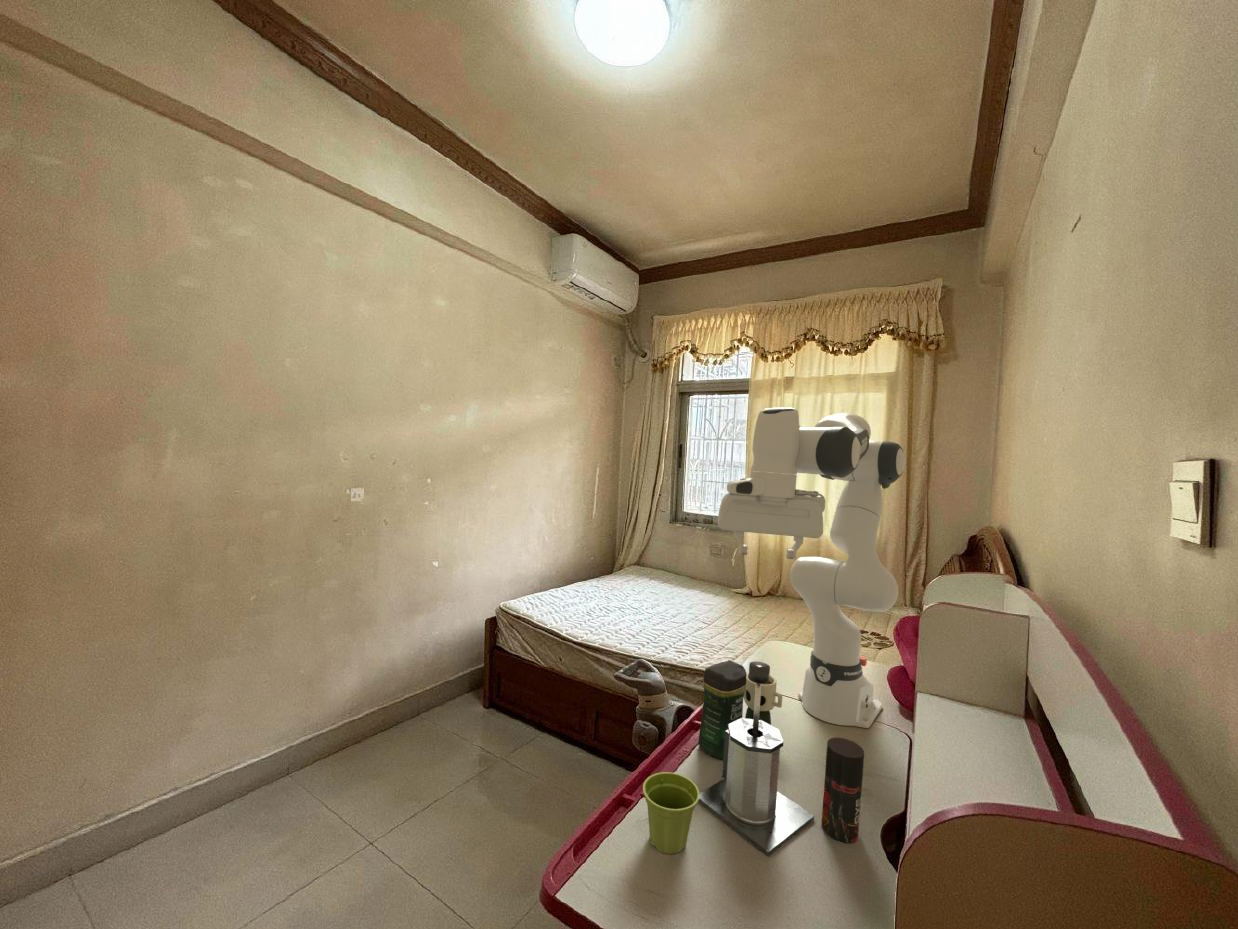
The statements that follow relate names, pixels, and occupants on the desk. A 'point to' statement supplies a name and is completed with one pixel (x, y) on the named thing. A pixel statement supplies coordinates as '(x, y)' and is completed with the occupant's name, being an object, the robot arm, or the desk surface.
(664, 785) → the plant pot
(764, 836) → the silver octagonal canister
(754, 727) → the domed grey knob
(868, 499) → the robot arm
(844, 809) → the deodorant
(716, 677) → the coffee jar
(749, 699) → the character mug
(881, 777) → the desk surface
